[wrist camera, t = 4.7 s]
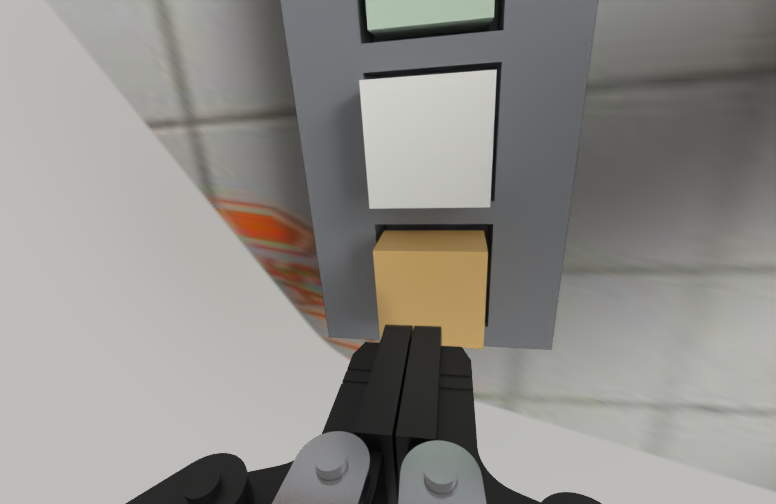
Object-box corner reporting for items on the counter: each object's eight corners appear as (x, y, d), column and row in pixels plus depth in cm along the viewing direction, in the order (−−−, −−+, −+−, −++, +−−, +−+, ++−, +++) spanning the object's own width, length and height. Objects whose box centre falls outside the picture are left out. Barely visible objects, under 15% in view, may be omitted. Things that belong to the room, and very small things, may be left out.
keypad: (576, -141, 12) (631, -249, 8) (532, 298, 18) (551, 349, 14) (311, -95, 13) (255, -168, 10) (353, 292, 19) (328, 337, 16)
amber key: (483, 230, 13) (488, 252, 11) (480, 317, 14) (483, 348, 12) (384, 230, 14) (372, 250, 12) (389, 313, 15) (380, 342, 13)
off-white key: (490, 74, 11) (497, 69, 9) (485, 191, 12) (490, 207, 11) (374, 83, 12) (359, 80, 10) (381, 193, 13) (369, 208, 11)
